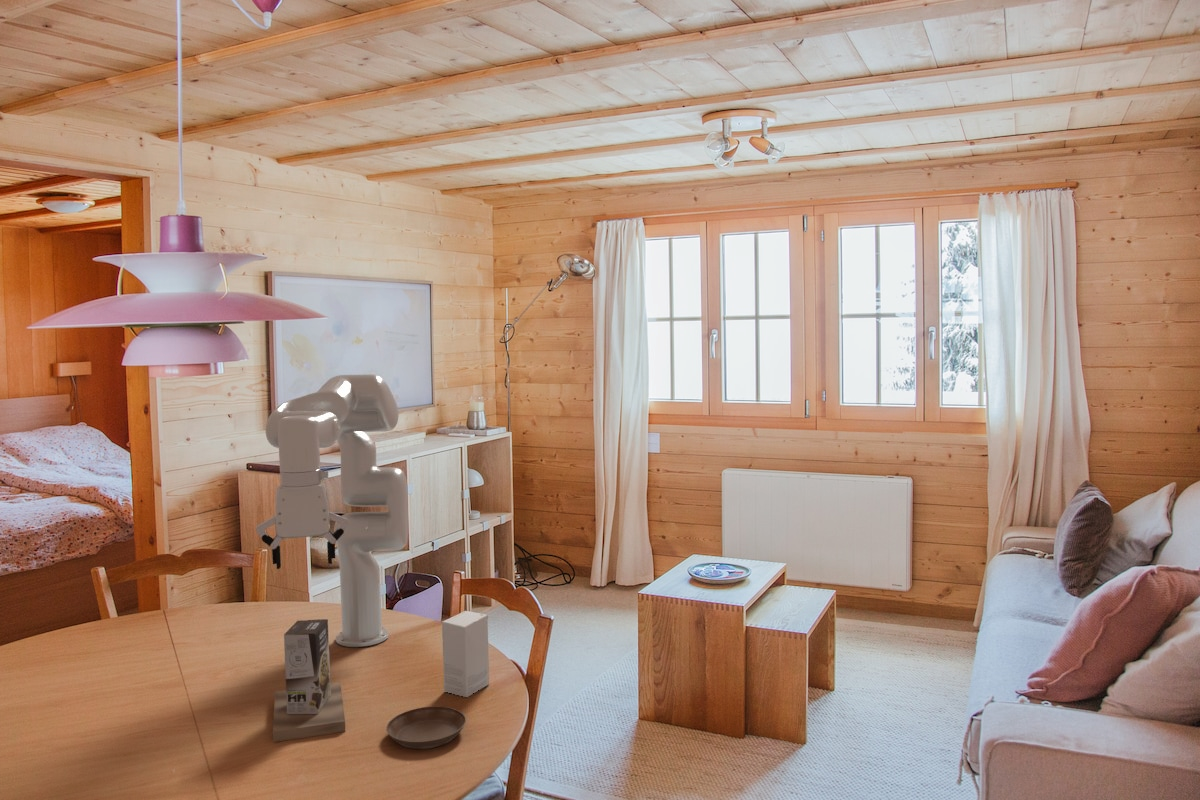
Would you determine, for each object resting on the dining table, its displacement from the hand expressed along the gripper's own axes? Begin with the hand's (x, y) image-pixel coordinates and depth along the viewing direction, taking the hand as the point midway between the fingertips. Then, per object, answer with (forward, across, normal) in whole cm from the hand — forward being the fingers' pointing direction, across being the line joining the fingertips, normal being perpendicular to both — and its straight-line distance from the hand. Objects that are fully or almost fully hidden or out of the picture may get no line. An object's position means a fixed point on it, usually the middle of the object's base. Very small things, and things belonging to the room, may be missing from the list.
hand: (304, 564), depth 179 cm
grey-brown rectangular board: (+30, 0, +1) cm, 30 cm away
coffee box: (+28, 0, +1) cm, 29 cm away
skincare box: (+31, -32, -1) cm, 44 cm away
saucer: (+31, -21, +18) cm, 41 cm away
